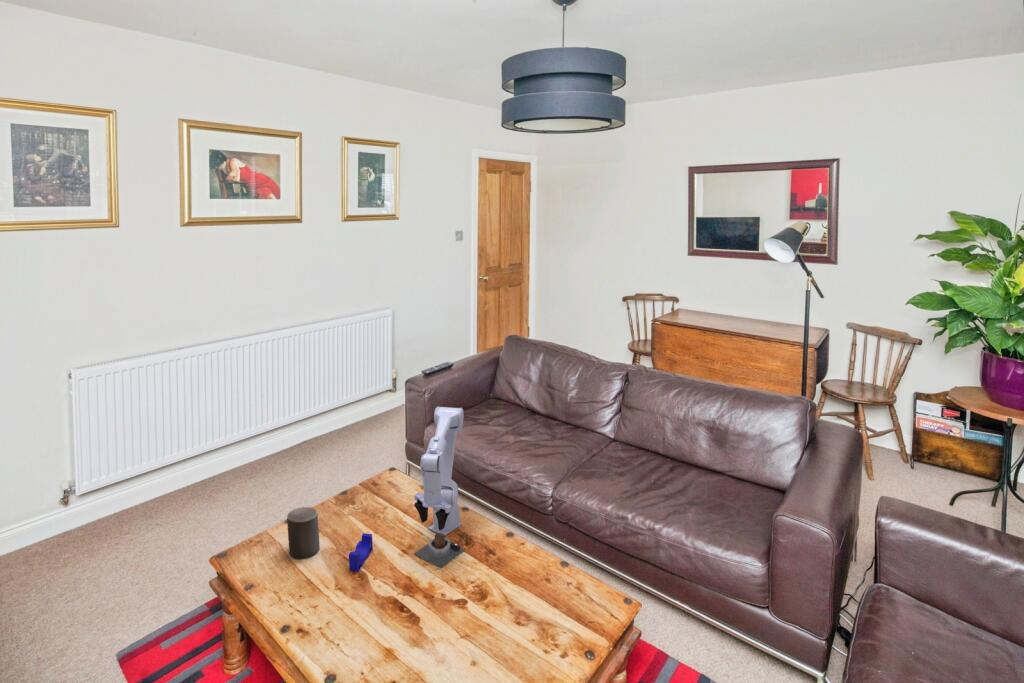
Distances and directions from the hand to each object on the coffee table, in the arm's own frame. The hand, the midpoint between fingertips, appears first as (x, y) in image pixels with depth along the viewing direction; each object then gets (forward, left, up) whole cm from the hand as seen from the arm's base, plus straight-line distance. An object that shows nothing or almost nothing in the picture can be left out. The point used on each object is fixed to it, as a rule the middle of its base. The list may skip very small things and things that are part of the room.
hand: (432, 524), depth 196 cm
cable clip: (+18, -16, -10) cm, 26 cm away
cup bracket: (0, +2, -10) cm, 10 cm away
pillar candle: (+26, -35, -10) cm, 44 cm away
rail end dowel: (0, +3, -9) cm, 10 cm away
